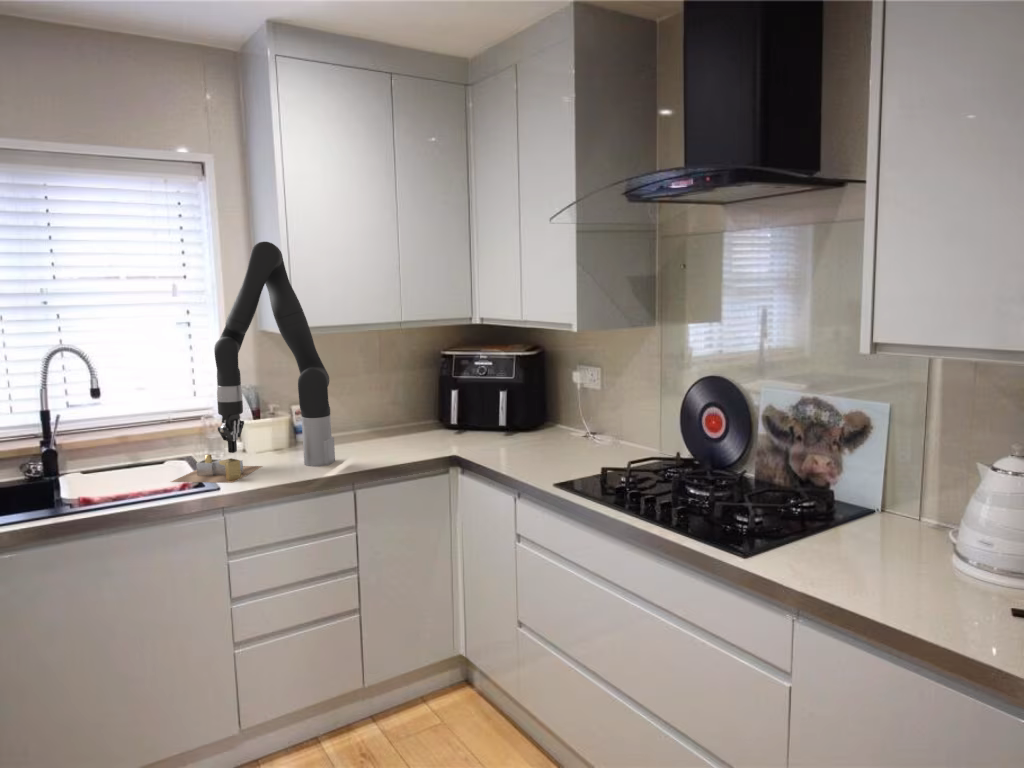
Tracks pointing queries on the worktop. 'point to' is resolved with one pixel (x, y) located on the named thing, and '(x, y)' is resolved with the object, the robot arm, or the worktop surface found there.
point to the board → (214, 476)
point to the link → (213, 468)
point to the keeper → (231, 468)
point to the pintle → (208, 458)
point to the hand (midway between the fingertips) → (232, 452)
